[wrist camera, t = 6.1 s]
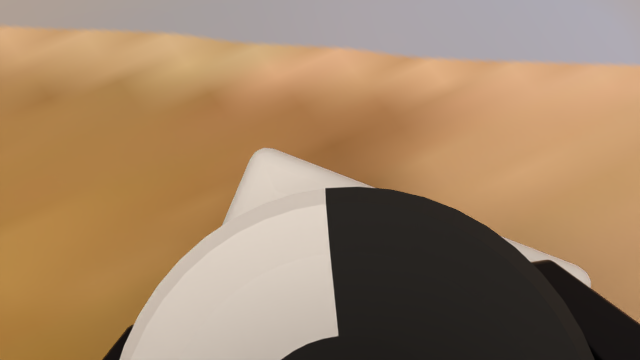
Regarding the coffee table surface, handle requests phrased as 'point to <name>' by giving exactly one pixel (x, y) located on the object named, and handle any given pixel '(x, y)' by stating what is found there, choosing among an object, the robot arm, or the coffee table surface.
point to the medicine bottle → (352, 281)
